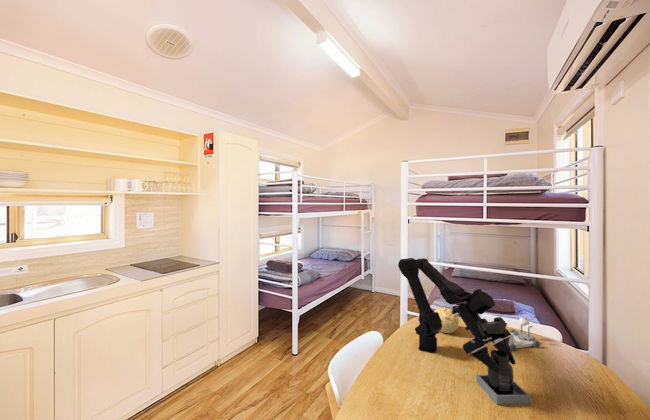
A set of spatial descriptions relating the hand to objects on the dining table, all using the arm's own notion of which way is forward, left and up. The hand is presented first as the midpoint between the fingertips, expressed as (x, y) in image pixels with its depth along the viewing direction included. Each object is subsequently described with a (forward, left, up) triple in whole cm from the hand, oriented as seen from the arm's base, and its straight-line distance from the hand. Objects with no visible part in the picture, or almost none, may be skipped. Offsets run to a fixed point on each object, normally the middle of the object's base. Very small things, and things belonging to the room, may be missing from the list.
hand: (506, 368), depth 81 cm
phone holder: (+9, +41, -9) cm, 43 cm away
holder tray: (-1, +1, -9) cm, 9 cm away
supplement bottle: (-2, +1, -8) cm, 8 cm away
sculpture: (-19, +39, -9) cm, 45 cm away
